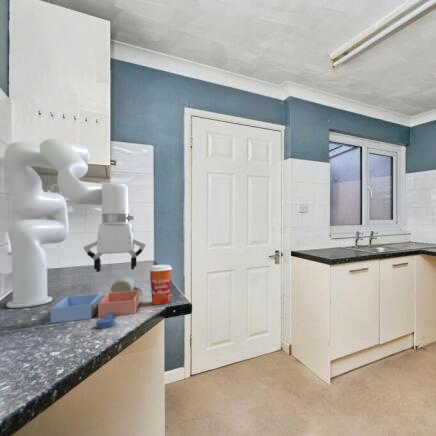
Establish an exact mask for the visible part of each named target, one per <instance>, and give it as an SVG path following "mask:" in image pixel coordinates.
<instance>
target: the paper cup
mask: <svg viewBox="0 0 436 436" xmlns="http://www.w3.org/2000/svg"><path fill="white" fill-rule="evenodd" d="M172 269H173V268H172V266H171V265H170V264H155V265H151V266H150V268H149V269H148V272H149V277H150V287H151V288H150V291H151V303H152V305H158V306H159V305H165V304H168V303H170V292H171V277H172Z"/></svg>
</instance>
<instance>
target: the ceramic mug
mask: <svg viewBox="0 0 436 436" xmlns="http://www.w3.org/2000/svg"><path fill="white" fill-rule="evenodd" d="M134 290H140V296H141V295H142V294H143V290H142V289H141V288H140V287H138V286H136V281H135V280H134V278H133V277H131V276H128V275H121V276H119V277H117V278H116V280H114V282H113V283H112V285H111V287H110V293H112V292H123V291H134Z"/></svg>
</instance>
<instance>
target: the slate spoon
mask: <svg viewBox="0 0 436 436" xmlns="http://www.w3.org/2000/svg"><path fill="white" fill-rule="evenodd" d="M95 325H96V326H95V327H96V329H98V330H99V329H100V330H102V329H108V328H111V327H114V326H115V318H114V316H113V312H108V313H107V315H106V316H105V317H103V318H99V319H97V320H96V322H95Z"/></svg>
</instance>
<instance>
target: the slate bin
mask: <svg viewBox="0 0 436 436" xmlns="http://www.w3.org/2000/svg"><path fill="white" fill-rule="evenodd" d="M102 299H103V294H102V293H101V292H100V293H92V294H80V295H78V294H77V295H69V296H65V297H64V298H63V299H61V300H60V301H58V302H57V303H56V304H55V305H54V306H52V307H51V308H50V324H55V323H64V322H65V323H66V322H73V321H74V322H75V321H81V320H88V319H89V320H90V319H92V318H94V317H95V315H96V314H97V313H98V304H99V303H100V301H101V300H102Z"/></svg>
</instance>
